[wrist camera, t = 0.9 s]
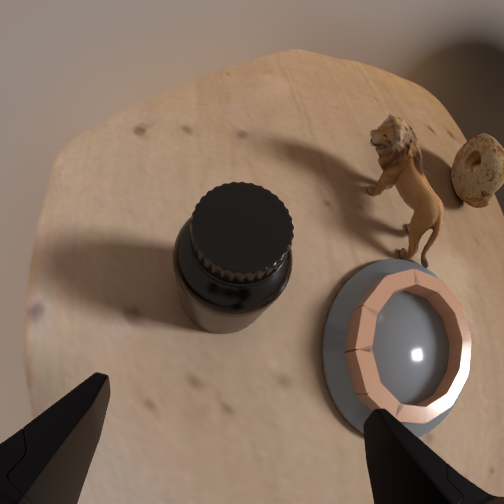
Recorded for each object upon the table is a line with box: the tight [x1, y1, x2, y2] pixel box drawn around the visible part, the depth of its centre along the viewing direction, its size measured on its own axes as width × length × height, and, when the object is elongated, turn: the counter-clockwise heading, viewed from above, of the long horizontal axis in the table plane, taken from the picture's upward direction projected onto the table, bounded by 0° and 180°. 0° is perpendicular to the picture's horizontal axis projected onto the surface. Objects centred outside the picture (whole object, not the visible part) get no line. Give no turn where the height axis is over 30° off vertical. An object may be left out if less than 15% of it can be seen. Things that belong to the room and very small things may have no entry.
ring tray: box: [322, 259, 471, 437], centre depth 24 cm, size 18×18×3 cm
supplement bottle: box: [173, 182, 294, 334], centre depth 19 cm, size 7×7×12 cm
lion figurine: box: [368, 115, 444, 268], centre depth 28 cm, size 15×5×9 cm, turn 25°
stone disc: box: [451, 133, 504, 208], centre depth 32 cm, size 10×4×10 cm, turn 164°
